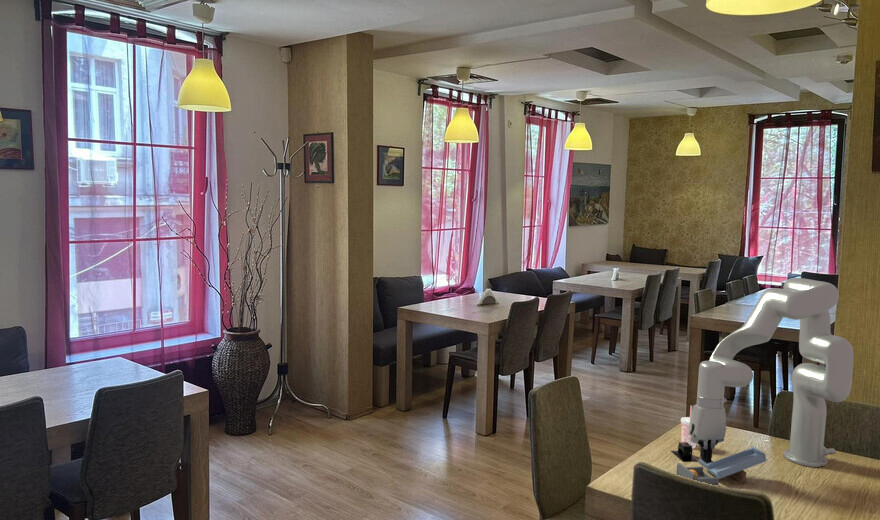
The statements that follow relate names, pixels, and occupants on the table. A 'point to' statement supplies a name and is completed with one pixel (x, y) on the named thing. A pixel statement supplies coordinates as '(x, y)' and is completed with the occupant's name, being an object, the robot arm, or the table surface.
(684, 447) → the black boxy piece
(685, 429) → the beverage cup
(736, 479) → the fulcrum
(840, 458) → the table surface
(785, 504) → the table surface
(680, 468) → the tray
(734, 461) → the lever
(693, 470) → the ball
